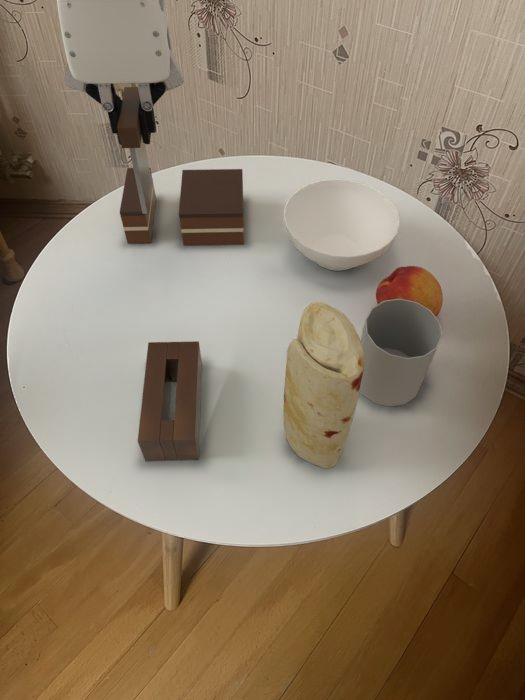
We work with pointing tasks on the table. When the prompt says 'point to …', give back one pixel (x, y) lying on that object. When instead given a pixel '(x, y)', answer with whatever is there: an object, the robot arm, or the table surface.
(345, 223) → the bowl
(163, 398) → the knife block
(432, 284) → the fruit
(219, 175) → the cake
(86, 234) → the table surface
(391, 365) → the cup
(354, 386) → the food model
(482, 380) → the table surface
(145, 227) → the cake slice
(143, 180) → the knife
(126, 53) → the robot arm
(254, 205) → the table surface
